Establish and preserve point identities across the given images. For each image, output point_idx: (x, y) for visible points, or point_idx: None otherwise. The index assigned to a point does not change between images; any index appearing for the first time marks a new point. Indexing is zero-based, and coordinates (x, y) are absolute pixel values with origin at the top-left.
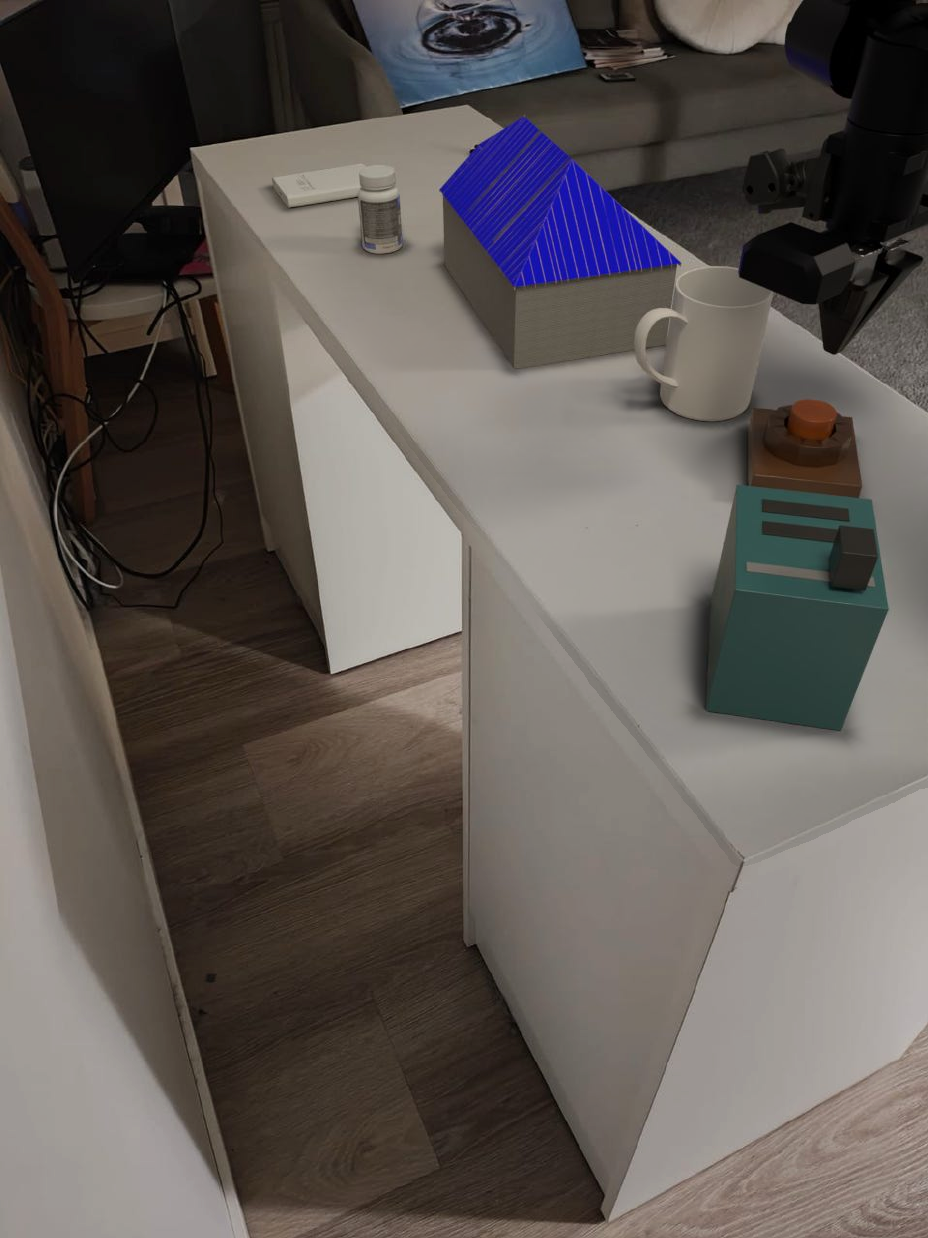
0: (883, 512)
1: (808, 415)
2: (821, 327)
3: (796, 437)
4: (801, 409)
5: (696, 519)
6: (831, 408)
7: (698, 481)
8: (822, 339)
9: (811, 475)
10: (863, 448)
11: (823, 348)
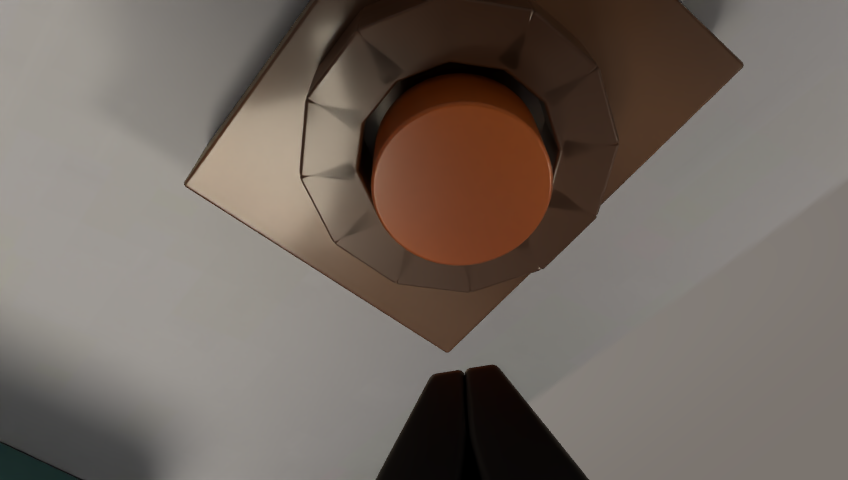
0: (502, 338)
1: (413, 209)
2: (381, 473)
3: (354, 201)
4: (421, 161)
5: (6, 160)
6: (532, 209)
7: (95, 2)
8: (412, 413)
9: (351, 264)
10: (713, 104)
11: (430, 378)
